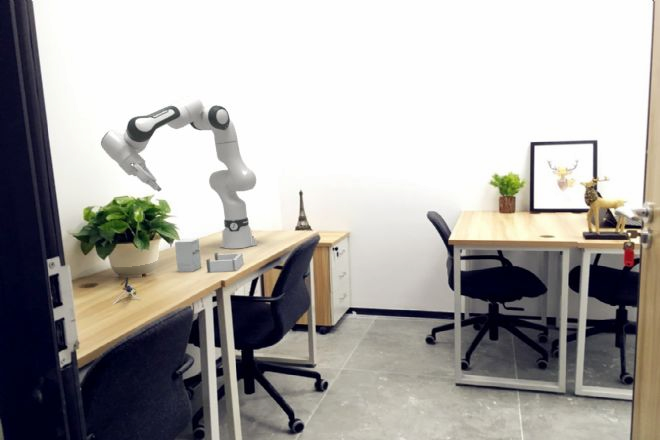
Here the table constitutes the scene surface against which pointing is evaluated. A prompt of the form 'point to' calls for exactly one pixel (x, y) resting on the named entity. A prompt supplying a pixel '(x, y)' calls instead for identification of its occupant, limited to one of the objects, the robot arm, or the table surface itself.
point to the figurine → (127, 290)
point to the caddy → (225, 262)
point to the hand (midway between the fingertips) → (158, 189)
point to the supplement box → (188, 255)
